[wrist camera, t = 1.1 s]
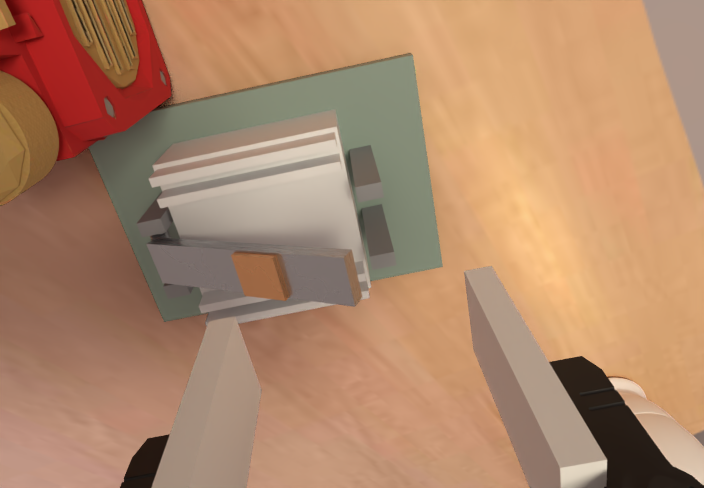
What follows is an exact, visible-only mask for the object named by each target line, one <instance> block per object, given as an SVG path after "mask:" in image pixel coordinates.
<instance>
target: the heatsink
mask: <svg viewBox="0 0 704 488" xmlns="http://www.w3.org/2000/svg"><path fill="white" fill-rule="evenodd" d="M104 137H106V136H104ZM88 148H89V150H90V152H91V155H92V157H93V159H94V162H95V164H96V166H97V168H98V171H99V173H100V175H101V178H102V180H103V182H104V185H105V187H106V189H107V191H108V194H109V196H110V198H111V201H112V203H113V205H114V208H115V210H116V212H117V214H118V217H119V219H120V221H121V224H122V226H123V228H124V231H125V233H126V235H127V237H128V240H129V242H130V244H131V247H132V249H133V251H134V254H135V256H136V258H137V260H138V263H139V265H140V267H141V270H142V272H143V274H144V277H145V279H146V281H147V283H148V286H149V288H150V290H151V293H152V295H153V297H154V299H155V302H156V304H157V306H158V309H159V311H160V313H161V316H162V318H163V320H164V322H166V321H171V320H176V319H181V318H186V317H191V316H196V315H201V314H206V313H208V316H207V319H206V322H205V324H206V326H208V323H209V321H213V320H218V319H223V318H228V317H233V316H235V317H236V320H237V322H238V324H239V323H244V322H249V321H254V320H260V319H265V318H270V317H275V316H280V315H285V314H290V313H295V312H300V311H305V310H311V309H316V308H321V307H326V306H331V305H336V304H330V303H322V302H314V301H306V300H298V299H290V298H288V299H287V300H286V301H282V300H274V299H266V298H258V297H250V296H245V295H244V293H240V292H232V291H224V290H216V289H208V288H200V287H191V286H183V285H175V284H167V283H162V280H161V278H160V275H159V273H158V271H157V268H156V266H155V264H154V261H153V259H152V256H151V254H150V252H149V249H148V247H147V243H148V242H150V241H151V238H150V236H152V235H156V234H161V233H166V232H167V230H168V232H169V234H170V237H171V238H175V239H191V240H207V241H224V242H240V243H256V244H272V245H288V246H304V247H320V248H336V249H352V253H353V258H354V262H355V266H356V271H357V275H358V280H359V284H360V289H361V293H362V298H361V300H362V299H367V298H370V296H369V289H368V288H371V282H370V281H374V280H379V279H384V278H389V277H394V276H399V275H404V274H409V273H414V272H419V271H424V270H429V269H434V268H439V267H443V265H442V258H441V251H440V244H439V237H438V230H437V223H436V216H435V209H434V202H433V195H432V188H431V180H430V173H429V166H428V159H427V152H426V145H425V138H424V131H423V124H422V117H421V110H420V103H419V96H418V88H417V81H416V74H415V67H414V60H413V55H412V54H411V53H408V54H404V55H399V56H394V57H390V58H385V59H380V60H376V61H371V62H367V63H362V64H357V65H353V66H348V67H344V68H339V69H334V70H330V71H325V72H321V73H316V74H311V75H307V76H302V77H297V78H293V79H288V80H284V81H279V82H274V83H270V84H265V85H261V86H256V87H251V88H247V89H242V90H238V91H233V92H228V93H224V94H219V95H214V96H210V97H205V98H201V99H196V100H191V101H187V102H182V103H178V104H173V105H168V106H164V107H159V108H155V109H153V110H152V111H151V112H149V113H148V114H147V115H146V116H144V117H143V118H142V119H140V120H139V121H138V122H136V123H135V124H134V125H132V126H131V127H130V128H128V129H127V130H126V131H123V132H119V133H115V134H111V135H107V137H106V138H105V139H104V140H98V141H97V142H95V143H94V144H93V145H91V146H90V147H88Z"/></svg>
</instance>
